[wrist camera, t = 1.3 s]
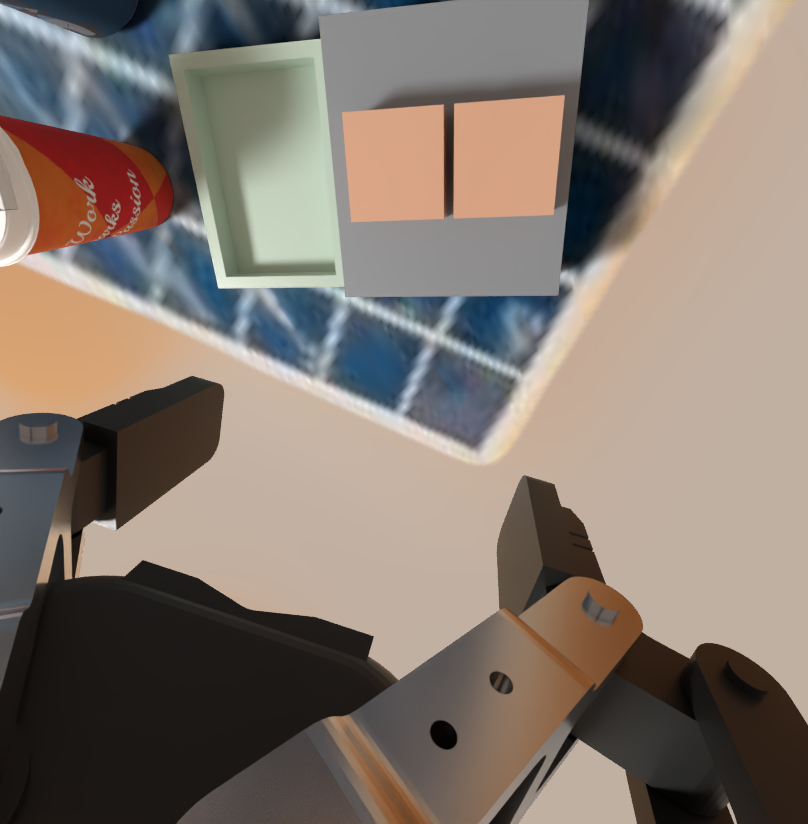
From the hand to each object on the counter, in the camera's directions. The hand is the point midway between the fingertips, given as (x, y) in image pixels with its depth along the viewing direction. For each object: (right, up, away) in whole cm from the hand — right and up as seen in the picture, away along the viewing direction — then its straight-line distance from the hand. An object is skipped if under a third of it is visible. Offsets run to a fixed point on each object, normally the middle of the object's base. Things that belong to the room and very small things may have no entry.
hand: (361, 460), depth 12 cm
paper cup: (-19, +18, +22) cm, 34 cm away
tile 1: (+1, +15, +13) cm, 20 cm away
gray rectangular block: (+4, +17, +18) cm, 26 cm away
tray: (-8, +18, +20) cm, 28 cm away
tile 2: (+6, +15, +13) cm, 20 cm away
